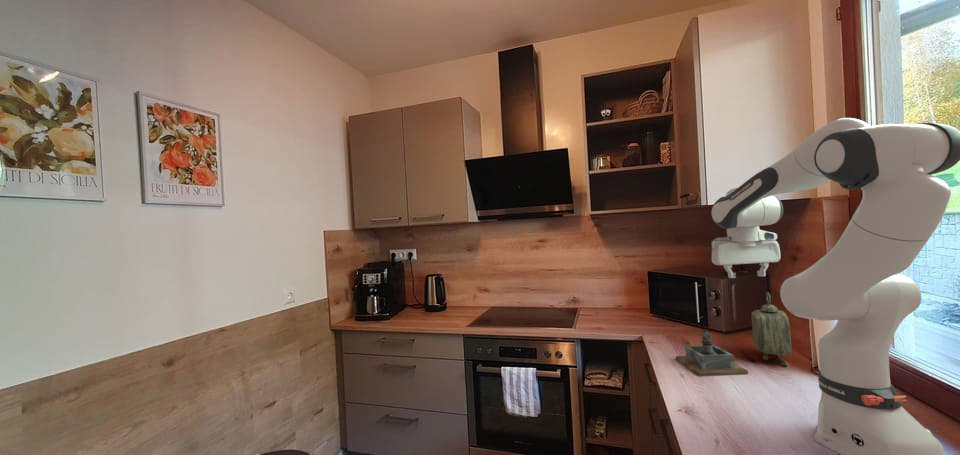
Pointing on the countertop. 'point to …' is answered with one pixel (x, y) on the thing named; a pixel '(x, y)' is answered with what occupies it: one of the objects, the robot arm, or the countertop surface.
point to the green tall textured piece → (771, 331)
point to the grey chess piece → (707, 344)
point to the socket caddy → (710, 362)
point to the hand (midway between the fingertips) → (746, 277)
